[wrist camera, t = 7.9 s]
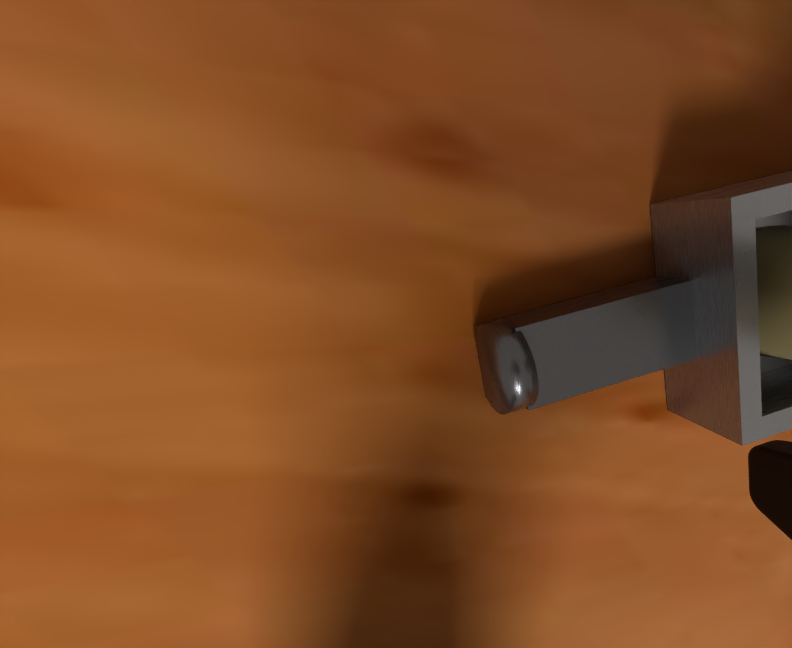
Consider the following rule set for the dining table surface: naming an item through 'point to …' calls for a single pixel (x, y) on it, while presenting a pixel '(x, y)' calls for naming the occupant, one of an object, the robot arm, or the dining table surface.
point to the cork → (775, 290)
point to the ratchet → (663, 323)
